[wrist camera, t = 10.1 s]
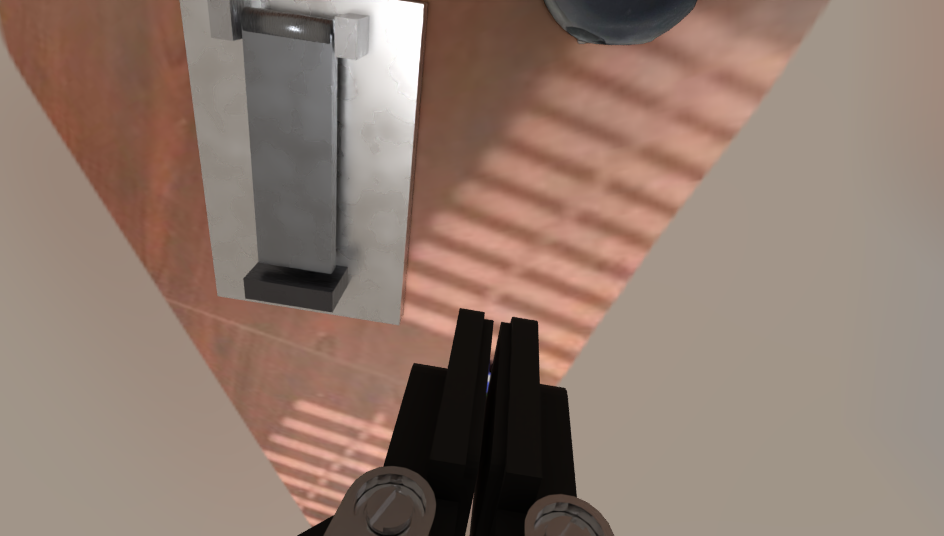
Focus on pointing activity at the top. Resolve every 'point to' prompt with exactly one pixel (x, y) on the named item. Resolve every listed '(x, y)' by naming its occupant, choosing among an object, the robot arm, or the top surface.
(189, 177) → the top surface
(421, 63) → the mounting plate
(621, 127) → the top surface
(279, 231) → the retention lever
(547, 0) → the electronic device
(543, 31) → the top surface
